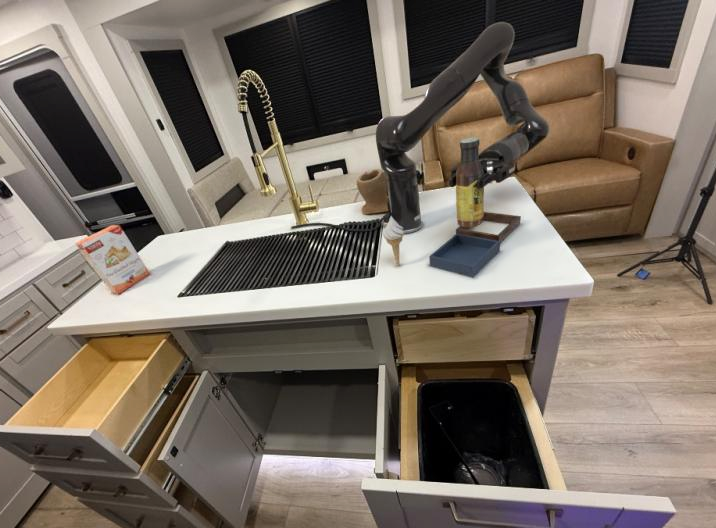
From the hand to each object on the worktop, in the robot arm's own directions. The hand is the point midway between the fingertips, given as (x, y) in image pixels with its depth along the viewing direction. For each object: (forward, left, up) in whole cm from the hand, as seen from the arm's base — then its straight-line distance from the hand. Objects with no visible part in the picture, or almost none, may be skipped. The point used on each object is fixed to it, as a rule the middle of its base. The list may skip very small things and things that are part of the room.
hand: (464, 183), depth 79 cm
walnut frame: (-2, +15, -20) cm, 25 cm away
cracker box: (-100, -64, -20) cm, 120 cm away
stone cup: (-44, +17, -20) cm, 51 cm away
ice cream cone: (-14, -11, -20) cm, 27 cm away
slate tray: (0, -1, -20) cm, 20 cm away
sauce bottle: (0, +2, -11) cm, 11 cm away
